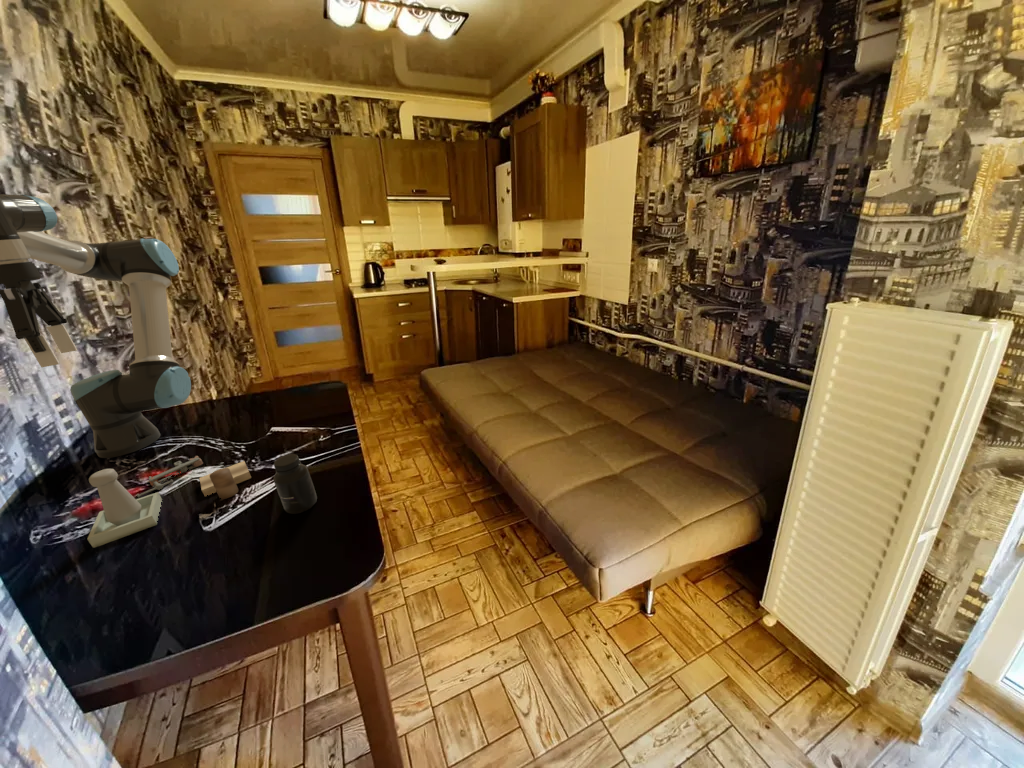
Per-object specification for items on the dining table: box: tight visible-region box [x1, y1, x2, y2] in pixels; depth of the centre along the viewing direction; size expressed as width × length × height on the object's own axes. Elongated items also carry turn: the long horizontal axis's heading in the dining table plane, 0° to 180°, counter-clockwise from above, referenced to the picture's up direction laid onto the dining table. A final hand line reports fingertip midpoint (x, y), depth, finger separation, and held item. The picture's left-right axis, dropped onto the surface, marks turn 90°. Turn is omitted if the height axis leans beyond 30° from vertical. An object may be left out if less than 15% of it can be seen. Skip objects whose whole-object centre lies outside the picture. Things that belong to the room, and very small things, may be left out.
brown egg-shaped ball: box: [209, 467, 239, 500], centre depth 96 cm, size 4×4×6 cm
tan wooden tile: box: [198, 460, 252, 497], centre depth 102 cm, size 7×10×2 cm
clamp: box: [136, 455, 204, 499], centre depth 107 cm, size 15×2×10 cm
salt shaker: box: [88, 468, 141, 526], centre depth 88 cm, size 6×6×13 cm
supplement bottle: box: [273, 453, 318, 515], centre depth 89 cm, size 7×7×12 cm
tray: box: [87, 491, 163, 549], centre depth 90 cm, size 11×11×2 cm
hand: (60, 358), depth 93 cm, fingers open, 13 cm apart
